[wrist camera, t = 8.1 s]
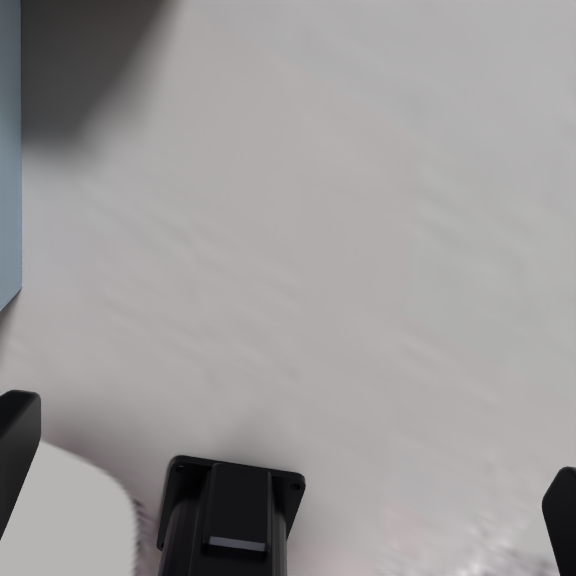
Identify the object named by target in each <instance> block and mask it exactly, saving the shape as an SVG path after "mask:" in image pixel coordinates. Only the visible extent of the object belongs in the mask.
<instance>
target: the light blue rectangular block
mask: <svg viewBox="0 0 576 576" xmlns="http://www.w3.org/2000/svg"><path fill="white" fill-rule="evenodd" d="M21 288H22V210H21V0H0V311H1V310H2V309H3V308H4V307H5V306H6V304H7V303H8V302H9V301H10V300H11V299H12V298H13V297H14V296H15V295H16V294H17V292H18V291H19V290H20V289H21Z"/></svg>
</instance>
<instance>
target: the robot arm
mask: <svg viewBox="0 0 576 576" xmlns="http://www.w3.org/2000/svg"><path fill="white" fill-rule="evenodd" d="M40 437H41V399H40V396H39V394H37V393H36V392H30V391H23V390H10V391H8V392H6V393H5V394H3V395H1V396H0V540H1V537H2V535H3V533H4V530H5V528H6V526H7V523H8V521H9V518H10V516H11V513H12V511H13V508H14V506H15V503H16V501H17V498H18V496H19V493H20V491H21V488H22V485H23V483H24V480H25V478H26V476H27V473H28V471H29V468H30V465H31V463H32V460H33V458H34V455H35V453H36V450H37V448H38V445H39V441H40ZM180 466H184V467H180ZM293 483H297V484H293ZM305 486H306V485H305V478H304V476H303V475H301V474H299V473H294V472H287V471H281V470H274V469H268V468H261V467H254V466H248V465H241V464H235V463H228V462H222V461H215V460H209V459H202V458H196V457H189V456H177V457H175V458H174V459H173V461H172V464H171V469H170V474H169V479H168V485H167V490H166V496H165V501H164V506H163V512H162V517H161V523H160V528H159V533H158V539H157V544H156V545H157V548H158V549H159V550H160V551H163V552H162V557H161V562H160V567H159V572H158V576H287V550H286V542H287V539H288V536H289V533H290V530H291V528H292V525H293V522H294V519H295V516H296V513H297V511H298V508H299V505H300V502H301V499H302V496H303V494H304V491H305ZM542 512H543V516H544V519H545V522H546V526H547V530H548V534H549V537H550V541H551V544H552V548H553V551H554V555H555V559H556V562H557V566H558V569H559V573H560V576H576V468H575V467H563V468H562V469H560V470H559V472H558V473H557V475H556V477H555V478H554V480H553V482H552V483H551V485H550V487H549V488H548V490H547V492H546V493H545V495H544V497H543V500H542Z"/></svg>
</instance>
